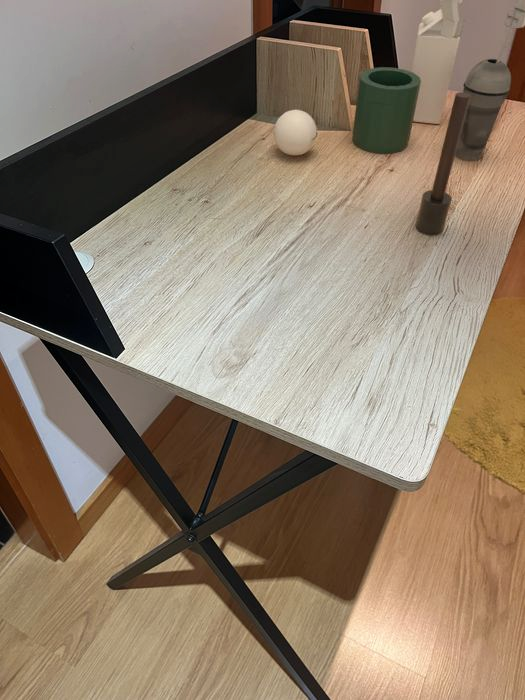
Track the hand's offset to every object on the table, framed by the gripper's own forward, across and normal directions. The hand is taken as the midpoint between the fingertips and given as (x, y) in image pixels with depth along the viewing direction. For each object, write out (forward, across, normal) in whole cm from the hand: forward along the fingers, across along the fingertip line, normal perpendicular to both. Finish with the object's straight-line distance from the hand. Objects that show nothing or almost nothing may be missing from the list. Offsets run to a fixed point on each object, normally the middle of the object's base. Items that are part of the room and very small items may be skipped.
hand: (482, 31), depth 65 cm
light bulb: (+27, -6, +30) cm, 41 cm away
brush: (+26, 0, 0) cm, 26 cm away
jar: (+26, +10, +27) cm, 39 cm away
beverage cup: (+26, +21, +16) cm, 37 cm away
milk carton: (+26, +24, +33) cm, 48 cm away
